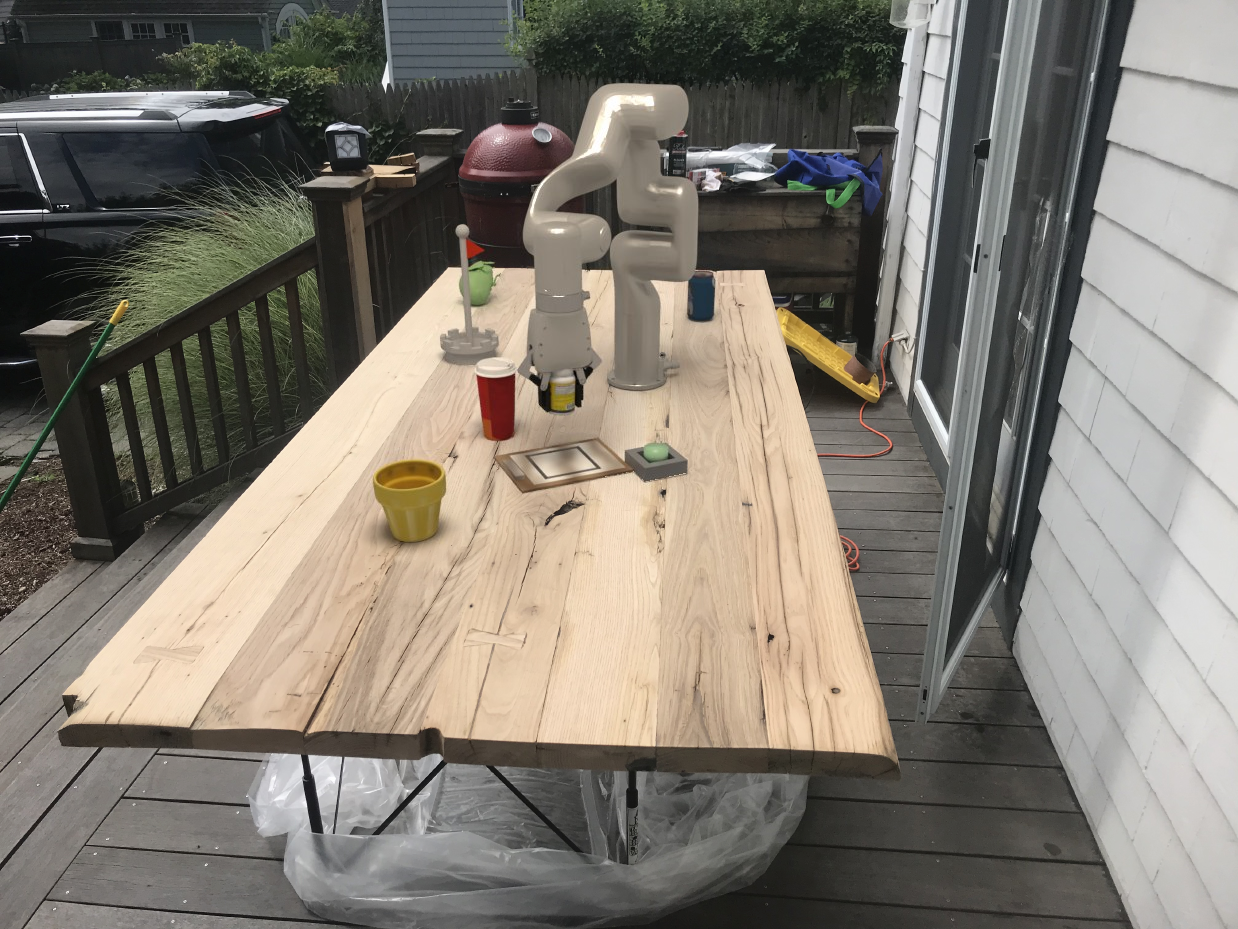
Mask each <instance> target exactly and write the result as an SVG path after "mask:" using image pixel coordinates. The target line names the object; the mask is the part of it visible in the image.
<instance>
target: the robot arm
mask: <svg viewBox="0 0 1238 929" xmlns="http://www.w3.org/2000/svg"><path fill="white" fill-rule="evenodd" d="M689 107H690V106H689V98H688V95H687V93H686V91H685V89H683V88H682V87H681V86H679V85H677V84H655V83H653V84H652V83H651V84H650V83H647V84H646V83H636V82H635V83H633V82H632V83H628V82H627V83H626V82H622V83H621V82H619V83H609V84H605V85H603V86H601V87H599V88H598V89H597V90H596V91H595V92H594V93H592V95H591V97H590V98H589V101H588V103H587V106H586V109H585V113H584V116H583V119H582V121H581V122H582V124H581V127H580V129H579V133H578V135H577V139H576V142H575V145H574V150H573V152H572V155H571V156H570V158H568V159H566V160H565V161H564V162H562V163H561V164H559V165H558V166H556V168H554V169H553V170H552V171H551V172H550V173H548V175H546V176H545V177H544V178H543V179H542V180H541V181H540V183H539V184H538V185H537V187H536V188H535V190H534V192H533V194H532V197H531V199H530V202H529V206H528V209H527V212H526V215H525V219H524V223H523V229H522V240H523V245H524V247H525V250H526V251H527V253H529V254H531V255H532V256H533V258H534V259H533V262H534V263H533V264H534V291H535V294H534V296H535V307H534V308H532V309H530V311H529V312H530V313H529V317H528V325H527V337H526V356H525V357H524V359H523V360H522V362H521V363H520V364H519V366H518V367H517V373H518V374H519V375H521V376H522V377H524V378H526V379H527V380H528V381H529V382H532V383H533V384H534V385H535V386H536V387H537V402H538V406H539V407H540V408H541V409H542V410H544V411H545V413H548V414H549V412H550V411H551V391H550V390H549V389H548V382H549V378H550V374H551V372H557V371H561V370H564V369H573V373H572V374H574V376H575V408H582V407H583V406H582V404H583V402H582V401H584V399H585V398H584V397H585V396H584V385H585V384H586V383H587V379H588V378H590V376H591V374H593V372H594V370H596V369H597V368H598V367H599V366H600V365H601V364H602V363H603V360H602V358H601V357H600V356H599V355H598V353H597V352H596V351H595V350H594V349H593V347H592V336H591V334H592V333H591V327H590V322H589V316H588V312H587V308H586V307H585V305H584V302H585V301H587V300H590V299H591V293H590V291H588V290H584V289H583V264H587V263H593V262H596V261H599V260H600V259H601V258H603V257H604V256H605V255H606V254H607V252H608V251H609V258H610V264H611V265H610V266H611V271H612V276H613V278H612V279H613V287H614V323H613V324H614V326H613V327H614V328H613V330H614V335H613V336H614V342H613V343H614V344H613V346H614V347H613V350H614V351H613V352H614V353H613V355H614V357H613V358H614V359H613V360H614V365H613V366H614V367H613V369H611V370H610V371H608V373H607V375H606V381H607V382H608V383H609V384H610V385H611V386H613V387H616V388H619V389H622V390H623V389H624V390H630V391H631V390H632V391H644V390H652V389H656V388H659V387H661V386H663V385H664V384H665V383H666V382H667V375H666V373H665V372H667V371H668V370H674V369H679V368H680V367H681V362H680V360H679V359H671V360H669V357H666V358H665V357H664V358H661V357H660V346H661V344H660V341H661V307H662V306H661V304H662V303H661V299H660V294H659V292H658V291H657V289H656V287H655V285H654V284H653V282H652V281H657V282H658V281H659V282H668V283H669V282H671V283H672V282H673V283H685V282H688V280H690V279H691V278H692V276H693V275H694V272H695V271H696V268H697V263H698V262H697V261H698V235H699V232H698V230H699V229H698V227H699V222H698V221H699V195H698V190H697V187H696V185H695V184H694V182H693V181H692V180H690V179H689V178H686V177H682V176H668V175H667V176H666V175H663V174H662V172H661V148H660V144H659V142H658V141H664V140H668V139H670V138H672V137H674V136H677V135H679V134H680V133H681V132H682V130H684V128H685V126H686V123H687V120H688V118H689V110H690V108H689ZM615 181H616V201H617V202H616V203H617V213H618V216H619V218H620V220H621V221H623V222H625V223H627V224H630V225H638V226H645V227H646V226H647V227H649V226H650V227H663V228H665V227H666V228H669V229H670V230H671V232H664V231H663V232H662V231H653V230H652V231H651V230H639V229H638V230H637V229H636V230H635V229H634V230H633V229H631V230H625V231H622V232H620V233H618V234H617V235H615V236H614V237H613V238H612V233H611V228H610V226H609V223H608V222H607V221H606V219H604V218H603V217H601V216H598V215H595V214H589V213H578V212H577V213H575V212H564V211H558V209H559V208H560V207H561V206H563V205H564V204H565V203H566V202H568V201H570V200H572V199H574V198H576V197H579V196H582V195H584V194H588V193H590V192H594V191H595V190H599V189H602V188H604V187H606V186H609V185H611V184H613V183H614V182H615ZM531 367H534V369H535V371H536V374H535V373H534V372H533V371H531V370H530V369H531Z"/></svg>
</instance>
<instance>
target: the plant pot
mask: <svg viewBox="0 0 1238 929" xmlns="http://www.w3.org/2000/svg"><path fill="white" fill-rule="evenodd" d="M372 485H373V490H374V491H373V492H374V496H375V500H376V502H378V503H379V504H380V505H381V506H382V507H381V508H382V510H383V512H384V515H385V517H386V520H387V523H388V526H389V529H390V531H391V534H392V536H393V537H394V538H395V540H398V541H400V542H403V543H404V542H405V543H415V542H416V543H418V542H421V541H424V540H427V539H430V538H431V537H433V536H434V535H435V534H436V532H437V531H438V526H439V519H440V513H441V505H442V499H443V498H444V496H445V495H446V494H447V479H446V471H445V468H444V467H443V466H442V465H441V464H439V463H437V462H435V461H432V460H428V459H419V458H418V459H417V458H413V459H402V460H401V459H400V460H398V461H393V462H391V463H388V464H385V465H383V466H381V467H379V469H377V470H376V471H375V472H374V474H373V477H372Z"/></svg>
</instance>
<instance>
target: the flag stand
mask: <svg viewBox="0 0 1238 929" xmlns="http://www.w3.org/2000/svg"><path fill="white" fill-rule="evenodd" d="M455 234H456V236H457V237H458V238H459V251H460V264H461V266H460V267H461V276H462V285H463V297H462V298H463V310H464V311H463V312H464V328H465V331H462V332H460V331H459V328H457V327H456V328H451V329H448V330H447V333H441V334H440V335H439V340H440V342H439V343H440V348H441V349H442V350H443V351H444V352H445V360H446V362H448V363H449V364H451V363H452V365H455V364H456V365H457V366H462V365H464V367H465V365H466V367H469V366H468V365H474V366H476V364H477V363H478V362H479V361H481V360H483V359H487V358H496V354H495V353H496V352H495V350H496V349H497V348H498V347H499V346H500V344H499V333H496V330H494V329H492V328H485V329H484V331H479V326H473V320H472V306H471V305H472V304H471V301H470V286H469V270H468V268H469V260H468V259H470V258H472V257H475V256H476V255H479V254H480V253H483V252H485V249H483V248H482V247H480V246H478V245H477V244H476V243H474V242H472V241H471V240H469V239H468V238H467V237H468V236H469V235H470V228H469V226H467V225H466V224H464V223H463V224H459V225H457V226H456V228H455Z"/></svg>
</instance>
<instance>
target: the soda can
mask: <svg viewBox="0 0 1238 929" xmlns="http://www.w3.org/2000/svg"><path fill="white" fill-rule="evenodd" d="M716 282H717V281H716V279H715V276H714V272H713V271H711V270H710V271H709V270H704V269H703V270H695V272H694V275H693V276H692V278H691V279H690V280H688V281H687V299H686V300H687V302H686V315H687V317H688V319H689V320H690V321H692V322H695V323H707V322H711V320H712V318H713V317H714V316H715V303H716V302H715V300H716V299H715V298H716Z"/></svg>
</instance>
